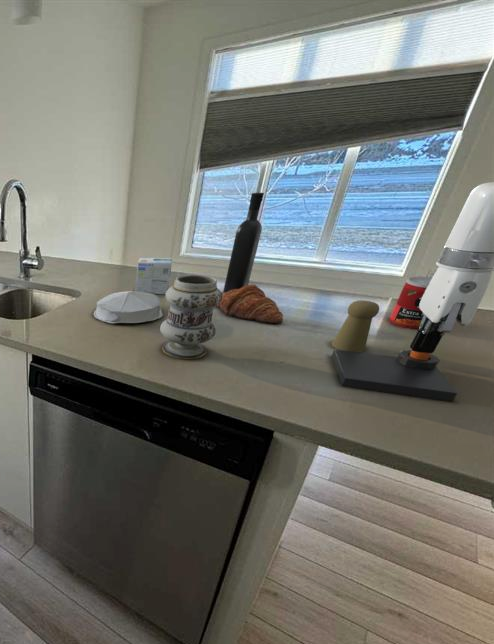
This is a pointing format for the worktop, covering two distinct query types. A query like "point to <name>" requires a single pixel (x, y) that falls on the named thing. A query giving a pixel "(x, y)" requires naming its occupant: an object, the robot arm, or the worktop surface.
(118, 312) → the food container
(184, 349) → the apothecary jar
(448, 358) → the worktop surface
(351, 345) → the cork
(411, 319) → the canned food
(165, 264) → the light bulb box
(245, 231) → the wine bottle
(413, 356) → the button
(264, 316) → the pastry
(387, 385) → the scale
